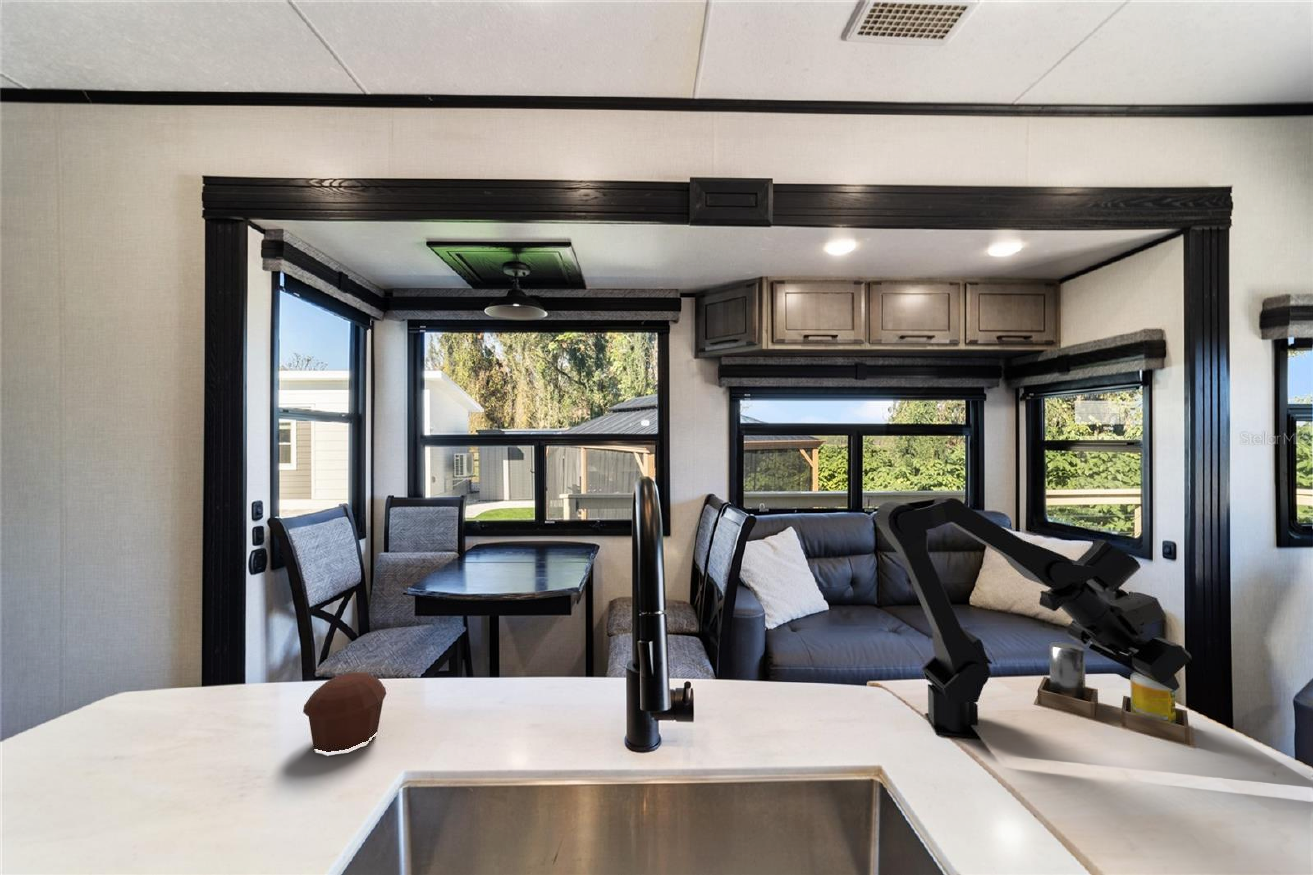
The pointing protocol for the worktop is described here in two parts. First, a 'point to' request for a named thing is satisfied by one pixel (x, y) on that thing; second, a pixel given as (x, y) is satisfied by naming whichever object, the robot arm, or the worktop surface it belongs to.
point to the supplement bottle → (1152, 699)
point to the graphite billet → (1067, 670)
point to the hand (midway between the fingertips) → (1161, 680)
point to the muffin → (345, 711)
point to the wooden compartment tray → (1117, 715)
